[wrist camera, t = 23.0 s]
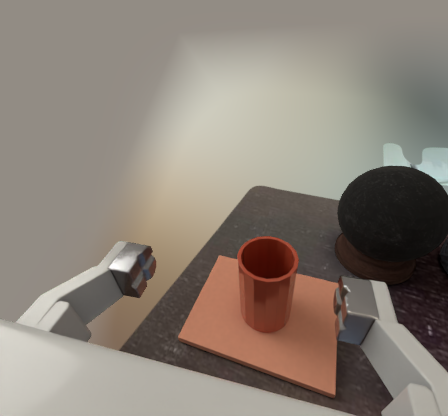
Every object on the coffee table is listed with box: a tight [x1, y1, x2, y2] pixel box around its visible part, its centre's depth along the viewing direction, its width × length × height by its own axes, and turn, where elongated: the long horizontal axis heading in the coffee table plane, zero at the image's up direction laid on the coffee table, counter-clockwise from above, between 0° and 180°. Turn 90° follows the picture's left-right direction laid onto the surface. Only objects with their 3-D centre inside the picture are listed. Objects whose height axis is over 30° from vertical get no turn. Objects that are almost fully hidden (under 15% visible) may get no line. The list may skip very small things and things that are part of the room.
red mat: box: [178, 255, 339, 398], centre depth 34 cm, size 18×14×1 cm
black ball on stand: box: [335, 166, 448, 285], centre depth 36 cm, size 13×13×15 cm
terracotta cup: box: [237, 236, 299, 333], centre depth 31 cm, size 6×6×10 cm
